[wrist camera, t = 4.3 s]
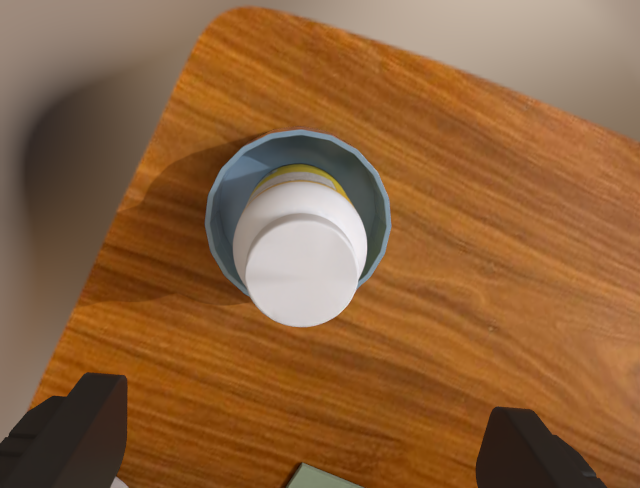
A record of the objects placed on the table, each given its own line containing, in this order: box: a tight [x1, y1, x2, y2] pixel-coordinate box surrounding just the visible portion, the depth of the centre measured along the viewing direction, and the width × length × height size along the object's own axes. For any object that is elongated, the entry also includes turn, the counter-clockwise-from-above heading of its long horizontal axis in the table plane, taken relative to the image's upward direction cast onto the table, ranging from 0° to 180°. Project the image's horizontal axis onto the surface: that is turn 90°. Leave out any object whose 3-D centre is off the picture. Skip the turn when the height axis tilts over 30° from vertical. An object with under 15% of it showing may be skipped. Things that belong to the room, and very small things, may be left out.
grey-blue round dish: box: [205, 126, 391, 296], centre depth 28 cm, size 11×11×4 cm
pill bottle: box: [233, 163, 367, 327], centre depth 24 cm, size 6×6×12 cm
